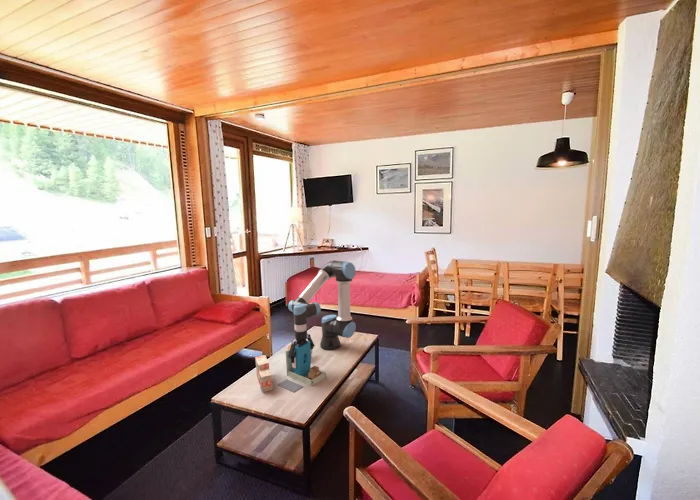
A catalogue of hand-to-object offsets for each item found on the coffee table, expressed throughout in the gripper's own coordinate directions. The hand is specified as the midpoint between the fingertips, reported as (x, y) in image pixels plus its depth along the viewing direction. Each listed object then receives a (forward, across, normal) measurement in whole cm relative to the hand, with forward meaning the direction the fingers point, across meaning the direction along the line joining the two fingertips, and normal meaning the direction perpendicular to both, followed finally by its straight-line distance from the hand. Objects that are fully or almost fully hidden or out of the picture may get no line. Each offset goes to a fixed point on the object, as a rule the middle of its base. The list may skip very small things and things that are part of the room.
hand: (302, 363), depth 198 cm
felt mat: (+8, +13, +2) cm, 15 cm away
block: (+8, 0, 0) cm, 8 cm away
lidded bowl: (+8, -13, -18) cm, 24 cm away
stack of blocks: (+8, +19, -14) cm, 25 cm away
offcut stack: (+8, 0, +10) cm, 13 cm away
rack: (+8, 0, +2) cm, 8 cm away
